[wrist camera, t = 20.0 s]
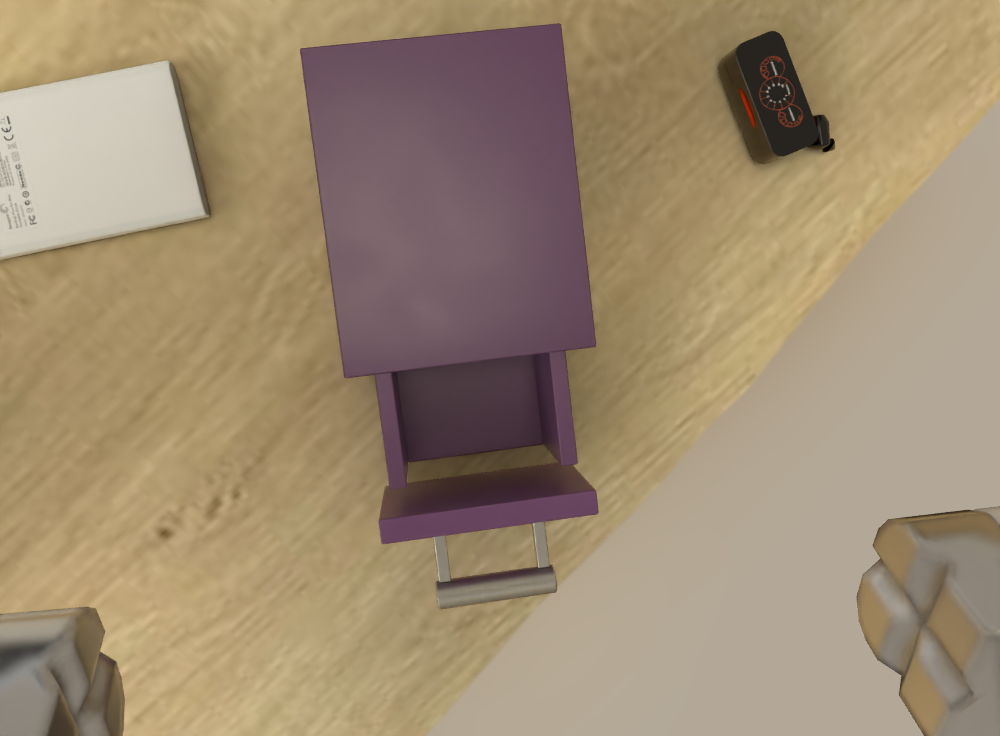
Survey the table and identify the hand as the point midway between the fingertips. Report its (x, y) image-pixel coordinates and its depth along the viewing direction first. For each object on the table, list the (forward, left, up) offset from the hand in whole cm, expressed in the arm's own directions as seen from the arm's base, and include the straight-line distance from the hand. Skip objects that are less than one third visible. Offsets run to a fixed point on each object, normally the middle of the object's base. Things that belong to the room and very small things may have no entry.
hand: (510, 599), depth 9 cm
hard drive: (+4, +21, -41) cm, 47 cm away
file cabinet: (+7, +2, -41) cm, 42 cm away
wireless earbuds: (+19, -14, -41) cm, 47 cm away
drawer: (-2, -3, -40) cm, 40 cm away
